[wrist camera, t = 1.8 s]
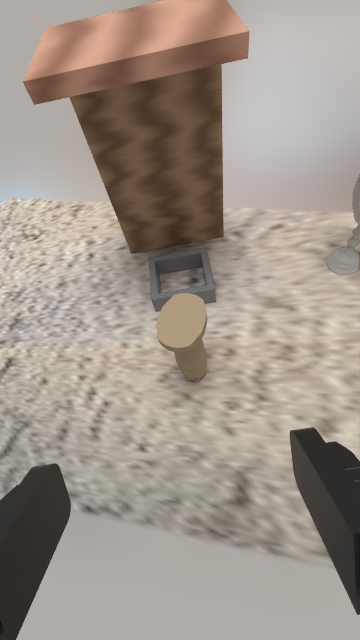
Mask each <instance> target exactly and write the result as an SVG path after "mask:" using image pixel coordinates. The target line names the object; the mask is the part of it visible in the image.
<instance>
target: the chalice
mask: <svg viewBox="0 0 360 640" xmlns="http://www.w3.org/2000/svg"><path fill="white" fill-rule="evenodd" d="M353 212H354V218H355V221H356V222H357V223H358V224H359V225H358V226H357V227H356V228H355V229H354V230H353V236H352V237H351V238H349V239H348V240H347V242H348V243H349V244H348V247H342V248H339V249H337V250H336V251H335V252H333V253H332V254H331V255H329V256H328V258H327V261H326V262H327V266H328V267H329V269H331V270H332V271H333V272H335V273H337V274H342V275H349V274H353V273H354V272H356V271H357V270H358V269H359V265H360V264H359V254H358V253H357V251H356V250H355V249H354V247H355V246H356V245H359V244H360V240H359V237H360V175H359V177H358V180H357V182H356V185H355V187H354V190H353Z"/></svg>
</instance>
